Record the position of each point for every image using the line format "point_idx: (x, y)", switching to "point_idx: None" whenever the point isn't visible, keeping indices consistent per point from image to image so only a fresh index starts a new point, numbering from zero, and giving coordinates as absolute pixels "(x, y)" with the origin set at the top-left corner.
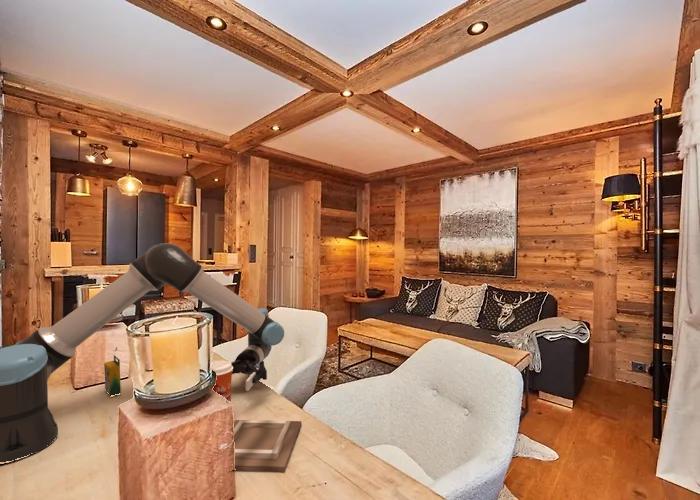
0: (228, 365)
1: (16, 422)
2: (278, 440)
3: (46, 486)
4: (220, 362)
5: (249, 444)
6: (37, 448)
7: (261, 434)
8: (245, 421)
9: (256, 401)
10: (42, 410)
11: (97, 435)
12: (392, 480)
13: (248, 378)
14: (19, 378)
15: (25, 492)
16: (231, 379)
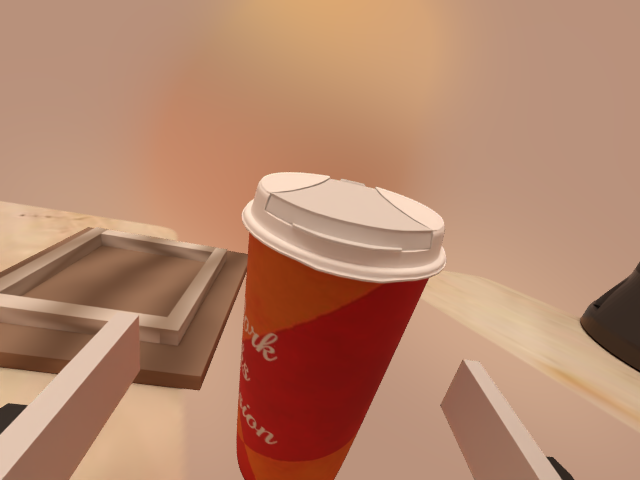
0: (271, 178)
1: (633, 273)
2: (72, 247)
3: (455, 278)
4: (360, 210)
5: (152, 274)
6: (594, 329)
7: (107, 296)
8: (157, 320)
9: None
10: None
11: (578, 377)
12: None
13: (103, 349)
14: None
15: (466, 275)
16: (246, 292)
